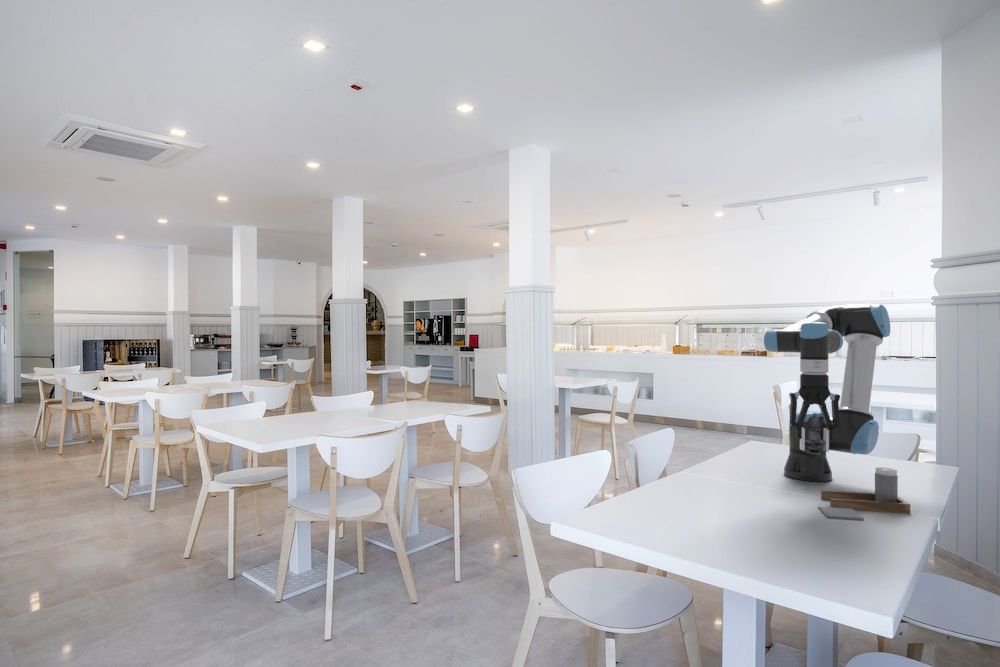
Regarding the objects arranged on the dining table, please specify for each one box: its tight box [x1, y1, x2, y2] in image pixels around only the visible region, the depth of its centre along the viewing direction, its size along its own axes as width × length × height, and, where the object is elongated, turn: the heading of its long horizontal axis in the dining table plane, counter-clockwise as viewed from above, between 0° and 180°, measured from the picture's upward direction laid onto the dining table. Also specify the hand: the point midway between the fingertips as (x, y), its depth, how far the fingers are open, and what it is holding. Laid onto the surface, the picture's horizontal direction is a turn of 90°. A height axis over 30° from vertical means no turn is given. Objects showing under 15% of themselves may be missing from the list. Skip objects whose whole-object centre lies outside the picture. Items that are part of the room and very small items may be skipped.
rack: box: [820, 489, 911, 514], centre depth 171 cm, size 10×20×2 cm, turn 76°
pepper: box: [874, 466, 899, 503], centre depth 170 cm, size 6×6×11 cm
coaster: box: [817, 505, 865, 521], centre depth 163 cm, size 9×9×1 cm
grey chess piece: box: [804, 414, 825, 455], centre depth 174 cm, size 6×6×12 cm
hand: (814, 450), depth 174 cm, fingers closed on grey chess piece, 6 cm apart
